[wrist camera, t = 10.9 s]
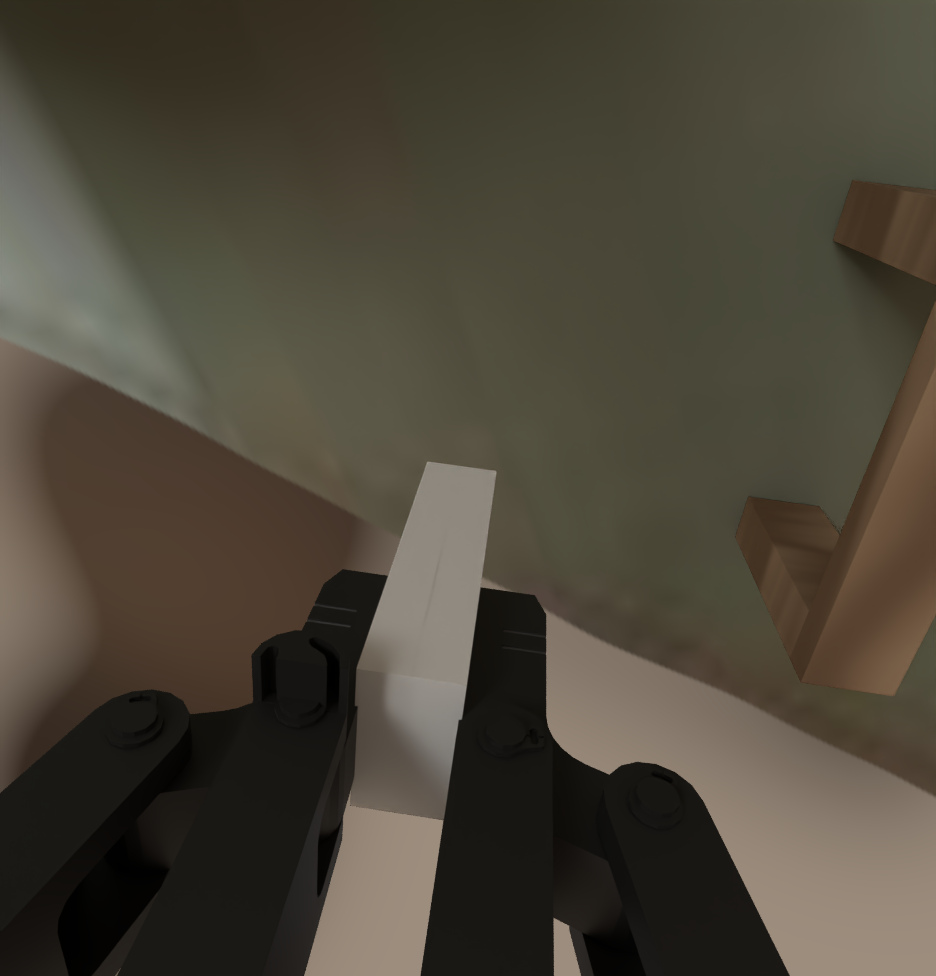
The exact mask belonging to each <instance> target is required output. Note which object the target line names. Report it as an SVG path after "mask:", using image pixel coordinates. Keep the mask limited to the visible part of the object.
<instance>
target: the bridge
mask: <svg viewBox="0 0 936 976" xmlns="http://www.w3.org/2000/svg"><path fill="white" fill-rule="evenodd" d="M833 241H836V242H838V243H840V244H842V245H845V246H847V247H849V248H852V249H854V250H856V251H858V252H861V253H863V254H865V255H868V256H870V257H872V258H874V259H877V260H879V261H881V262H884V263H886V264H888V265H890V266H893V267H895V268H897V269H900V270H902V271H904V272H906V273H909V274H911V275H913V276H916V277H918V278H920V279H923V280H925V281H927V282H929V283H932V284H934V285H936V190H929V189H921V188H913V187H905V186H897V185H889V184H881V183H872V182H864V181H856V180H852V183H851V186H850V189H849V193H848V196H847V199H846V202H845V205H844V208H843V211H842V214H841V217H840V220H839V223H838V226H837V229H836V232H835V235H834V238H833ZM735 537H736V539H737V542H738V544H739V546H740V548H741V550H742V553H743V555H744V557H745V559H746V562H747V564H748V566H749V568H750V571H751V573H752V575H753V577H754V579H755V582H756V584H757V586H758V588H759V591H760V593H761V595H762V597H763V600H764V602H765V604H766V606H767V608H768V611H769V613H770V615H771V617H772V620H773V622H774V624H775V626H776V628H777V631H778V633H779V635H780V637H781V640H782V642H783V644H784V646H785V649H786V651H787V653H788V655H789V657H790V660H791V662H792V664H793V666H794V669H795V671H796V673H797V675H798V677H799V680H800V682H801V683H807V684H814V685H821V686H828V687H835V688H841V689H848V690H855V691H862V692H868V693H875V694H882V695H889V696H894V695H895V693H896V691H897V689H898V687H899V685H900V683H901V681H902V680H903V678H904V676H905V674H906V672H907V670H908V668H909V666H910V664H911V662H912V660H913V658H914V656H915V654H916V652H917V650H918V648H919V646H920V644H921V642H922V640H923V638H924V636H925V635H926V633H927V631H928V629H929V627H930V625H931V623H932V621H933V619H934V617H935V615H936V301H935V303H934V306H933V308H932V311H931V313H930V316H929V318H928V320H927V323H926V325H925V328H924V330H923V333H922V335H921V338H920V340H919V343H918V345H917V347H916V350H915V352H914V355H913V357H912V360H911V362H910V365H909V367H908V369H907V372H906V374H905V377H904V379H903V382H902V384H901V387H900V389H899V392H898V394H897V396H896V399H895V401H894V404H893V406H892V409H891V411H890V414H889V416H888V418H887V421H886V423H885V426H884V428H883V431H882V433H881V436H880V438H879V441H878V443H877V445H876V448H875V450H874V453H873V455H872V458H871V460H870V463H869V465H868V467H867V470H866V472H865V475H864V477H863V480H862V482H861V485H860V487H859V490H858V492H857V494H856V497H855V499H854V502H853V504H852V507H851V509H850V512H849V514H848V517H847V519H846V521H845V524H844V526H843V529H842V531H841V534H840V535H839V534H838V532H837V531H836V530H835V528H834V527H833V525H832V524H831V522H830V521H829V520H828V518H827V517H826V515H825V514H824V512H823V511H822V510H821V508H820V507H819V506H811V505H804V504H797V503H790V502H783V501H775V500H768V499H761V498H754V497H748V499H747V502H746V506H745V509H744V512H743V515H742V518H741V521H740V524H739V527H738V530H737V533H736V536H735Z"/></svg>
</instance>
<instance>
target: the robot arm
mask: <svg viewBox="0 0 936 976" xmlns="http://www.w3.org/2000/svg"><path fill="white" fill-rule="evenodd" d="M495 478H496V471H492V470H485V469H478V468H471V467H464V466H457V465H449V464H442V463H435V462H428V461H427V464H426V467H425V470H424V473H423V476H422V479H421V482H420V484H419V487H418V490H417V493H416V496H415V499H414V502H413V505H412V508H411V511H410V514H409V517H408V520H407V522H406V525H405V528H404V531H403V534H402V537H401V540H400V543H399V546H398V549H397V552H396V555H395V558H394V560H393V564H392V566H391V569H390V572H389V575H388V576H385V575H378V574H371V573H364V572H358V571H351V570H344V569H343V570H341V571H340V572H339V573H337V574H336V575H335V576H334V577H332V578H331V579H330V580H328V581H327V582H326V583H325V584H324V585H323V587H322V589H321V591H320V593H319V596H318V598H317V600H316V602H315V606H313V608H312V610H311V612H310V615H309V617H308V620H307V622H306V623H305V625H304V627H303V629H302V631H297V630H296V631H291V632H287V633H283V634H279V635H276V636H274V637H272V638H270V639H268V640H267V641H265V642H263V643H261V645H260V646H259V647H258V648H257V649H256V650H255V652H254V653H253V654H252V678H253V703H251V704H248V705H245V706H242V707H239V708H236V709H231V710H225V711H219V712H209V713H199V714H190V713H189V712H188V710H187V707H186V706H185V704H184V702H183V701H182V700H181V699H179V698H177V697H176V696H174V695H173V694H171V693H168V692H162V691H157V690H145V691H134V692H130V693H127V694H124V695H121V696H118V697H115V698H112V699H111V700H109V701H108V702H106V703H105V704H103V705H102V706H100V707H99V708H97V709H95V710H94V711H93V712H92V713H91V714H90V715H89V716H87V717H86V718H85V719H84V720H83V721H82V722H81V723H79V724H78V725H77V726H76V727H75V728H74V729H73V730H71V731H70V732H69V733H68V734H67V735H66V736H65V737H63V738H62V739H61V740H60V741H59V742H58V743H57V744H56V745H55V746H53V747H52V748H51V749H50V750H49V751H48V752H46V753H45V754H44V755H43V756H42V757H41V758H40V759H39V760H37V761H36V762H35V763H34V764H33V765H32V766H31V767H29V768H28V769H27V770H26V771H25V772H24V773H23V774H21V775H20V776H19V777H18V778H17V779H16V780H15V781H14V782H12V783H11V784H10V785H9V786H8V787H7V788H5V789H4V790H3V791H2V792H1V793H0V976H115V975H116V973H117V972H118V971H119V969H120V968H121V969H120V971H119V973H118V975H117V976H304V974H305V971H306V967H307V963H308V960H309V956H310V953H311V949H312V945H313V942H314V938H315V934H316V931H317V928H318V924H319V920H320V916H321V913H322V910H323V906H324V902H325V898H326V895H327V892H328V888H329V884H330V881H331V877H332V873H333V870H334V866H335V863H336V859H337V855H338V852H339V848H340V845H341V841H342V830H343V815H344V811H345V808H346V804H347V801H348V797H349V794H350V790H351V798H350V806H356V807H363V808H369V809H375V810H382V811H388V812H394V813H401V814H407V815H413V816H420V817H427V818H433V819H439V820H444V821H443V829H442V835H441V841H440V848H439V855H438V862H437V868H436V875H435V882H434V889H433V895H432V902H431V910H430V916H429V922H428V929H427V936H426V943H425V950H424V956H423V963H422V970H421V976H554V942H553V941H554V938H553V937H554V936H553V935H554V933H553V918H555V919H557V920H560V921H561V922H563V923H565V924H567V925H569V929H570V934H571V938H572V942H573V946H574V949H575V953H576V957H577V961H578V965H579V969H580V973H581V976H790V975H789V973H788V971H787V969H786V967H785V965H784V963H783V961H782V959H781V957H780V956H779V953H778V951H777V949H776V947H775V945H774V943H773V941H772V939H771V937H770V935H769V933H768V931H767V929H766V927H765V925H764V923H763V921H762V919H761V917H760V915H759V913H758V911H757V909H756V907H755V905H754V903H753V901H752V899H751V897H750V895H749V893H748V891H747V889H746V887H745V885H744V883H743V881H742V879H741V876H740V874H739V873H738V870H737V868H736V866H735V864H734V862H733V860H732V859H731V856H730V854H729V852H728V851H727V848H726V846H725V844H724V842H723V840H722V838H721V836H720V834H719V832H718V830H717V828H716V826H715V824H714V822H713V820H712V818H711V816H710V814H709V812H708V810H707V808H706V806H705V804H704V802H703V800H702V799H701V797H700V796H699V795H698V793H697V792H696V790H695V789H694V788H693V786H692V785H691V784H690V783H688V782H687V781H686V780H684V779H683V778H682V777H681V776H679V775H678V774H677V773H675V772H673V771H671V770H669V769H666V768H664V767H662V766H659V765H657V764H650V763H641V762H635V763H631V764H626V765H622V766H620V767H619V768H617V769H616V770H615V771H614V772H612V773H611V774H610V775H609V774H606V773H604V772H602V771H600V770H597V769H595V768H592V767H590V766H588V765H586V764H584V763H582V762H580V761H579V760H577V759H575V758H573V757H572V756H571V755H569V754H568V753H567V752H566V751H564V750H563V749H562V748H561V747H560V746H559V744H558V743H557V742H556V741H555V739H554V738H553V737H552V735H551V732H550V730H549V728H548V724H547V719H546V613H545V612H544V610H543V608H542V607H541V605H540V603H539V602H538V600H537V598H536V597H535V595H529V594H522V593H516V592H509V591H502V590H495V589H488V588H481V587H480V586H481V579H482V572H483V565H484V558H485V550H486V543H487V536H488V529H489V522H490V514H491V507H492V500H493V493H494V486H495Z"/></svg>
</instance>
